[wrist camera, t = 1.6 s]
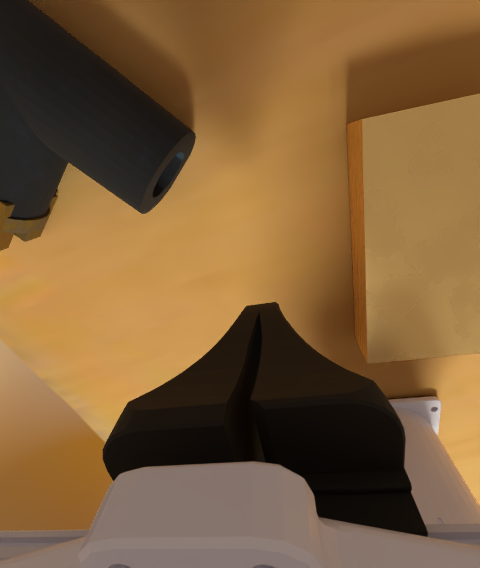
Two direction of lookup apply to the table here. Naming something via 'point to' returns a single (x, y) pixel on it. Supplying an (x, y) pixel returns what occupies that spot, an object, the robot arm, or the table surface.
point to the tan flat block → (416, 231)
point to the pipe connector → (74, 125)
